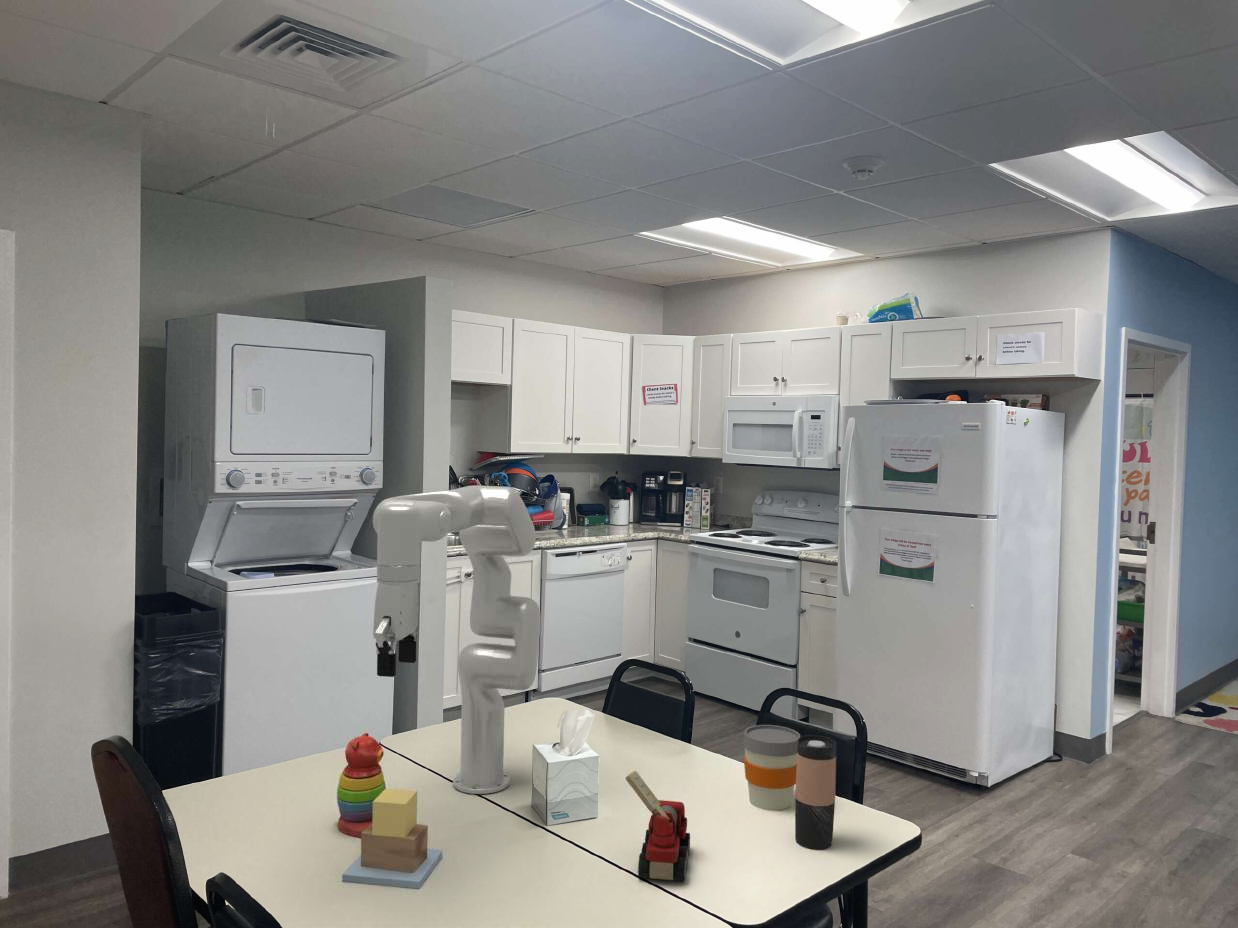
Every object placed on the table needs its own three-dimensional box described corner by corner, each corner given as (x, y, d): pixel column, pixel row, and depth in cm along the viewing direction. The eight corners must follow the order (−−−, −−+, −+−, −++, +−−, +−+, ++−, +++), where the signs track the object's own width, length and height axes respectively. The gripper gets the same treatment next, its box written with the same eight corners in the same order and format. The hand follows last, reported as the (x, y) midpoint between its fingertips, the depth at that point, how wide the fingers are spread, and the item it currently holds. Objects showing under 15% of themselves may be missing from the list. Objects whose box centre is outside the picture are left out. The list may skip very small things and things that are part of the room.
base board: (370, 849, 170) (370, 843, 170) (442, 856, 168) (442, 850, 168) (342, 880, 158) (342, 874, 158) (419, 888, 156) (419, 881, 156)
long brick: (376, 850, 167) (377, 818, 167) (427, 857, 165) (427, 825, 165) (360, 865, 161) (361, 832, 161) (413, 872, 159) (413, 839, 159)
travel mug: (835, 836, 181) (838, 737, 180) (831, 853, 173) (834, 749, 173) (796, 830, 183) (799, 732, 182) (791, 846, 176) (794, 744, 175)
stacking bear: (373, 839, 174) (375, 748, 174) (325, 833, 176) (326, 743, 176) (398, 816, 185) (399, 730, 184) (352, 811, 187) (353, 725, 186)
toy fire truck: (690, 848, 174) (693, 757, 174) (683, 888, 159) (686, 789, 158) (632, 843, 176) (634, 753, 175) (619, 881, 161) (622, 783, 160)
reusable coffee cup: (774, 818, 188) (776, 747, 188) (729, 799, 198) (731, 731, 197) (811, 803, 196) (813, 735, 196) (766, 785, 206) (768, 720, 205)
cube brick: (385, 820, 166) (385, 788, 166) (416, 823, 166) (417, 790, 165) (372, 834, 160) (372, 801, 160) (404, 837, 160) (405, 803, 159)
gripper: (397, 565, 170) (395, 656, 171) (358, 580, 153) (356, 680, 154) (435, 567, 169) (433, 658, 170) (400, 582, 152) (398, 683, 153)
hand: (397, 668), depth 162 cm, fingers open, 9 cm apart
